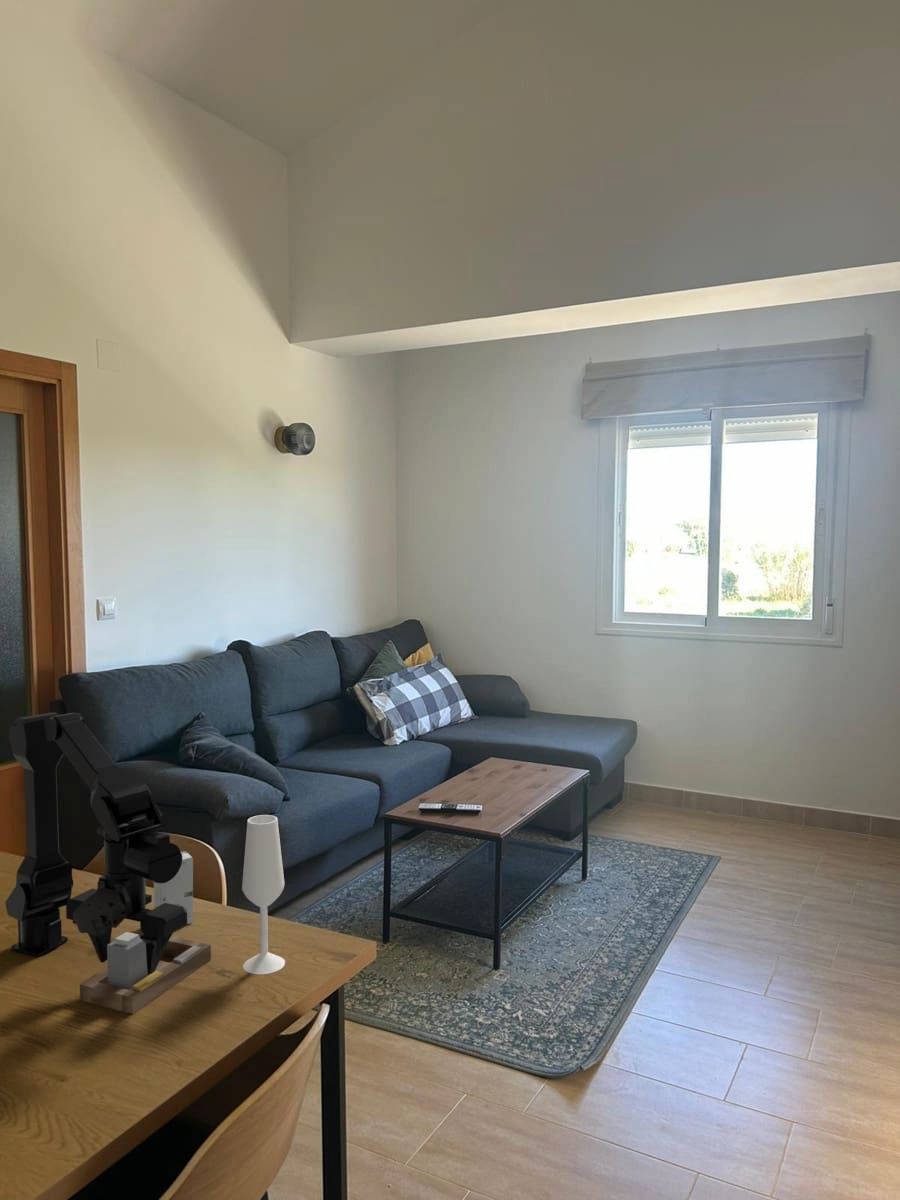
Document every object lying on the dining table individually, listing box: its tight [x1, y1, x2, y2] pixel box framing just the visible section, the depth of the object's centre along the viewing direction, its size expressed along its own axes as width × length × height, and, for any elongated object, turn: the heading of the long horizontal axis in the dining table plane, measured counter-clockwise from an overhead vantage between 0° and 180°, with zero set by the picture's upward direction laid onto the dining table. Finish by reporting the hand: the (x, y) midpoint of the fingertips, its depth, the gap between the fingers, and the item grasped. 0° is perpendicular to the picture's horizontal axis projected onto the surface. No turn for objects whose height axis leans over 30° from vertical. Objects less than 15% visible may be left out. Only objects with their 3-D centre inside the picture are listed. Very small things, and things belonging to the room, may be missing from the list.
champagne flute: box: [241, 814, 286, 975], centre depth 141 cm, size 7×7×24 cm
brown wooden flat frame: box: [79, 935, 212, 1015], centre depth 137 cm, size 10×18×3 cm, turn 158°
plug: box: [107, 931, 148, 990], centre depth 133 cm, size 4×4×9 cm
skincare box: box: [153, 851, 194, 925], centre depth 157 cm, size 6×4×12 cm
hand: (127, 967), depth 133 cm, fingers open, 9 cm apart
